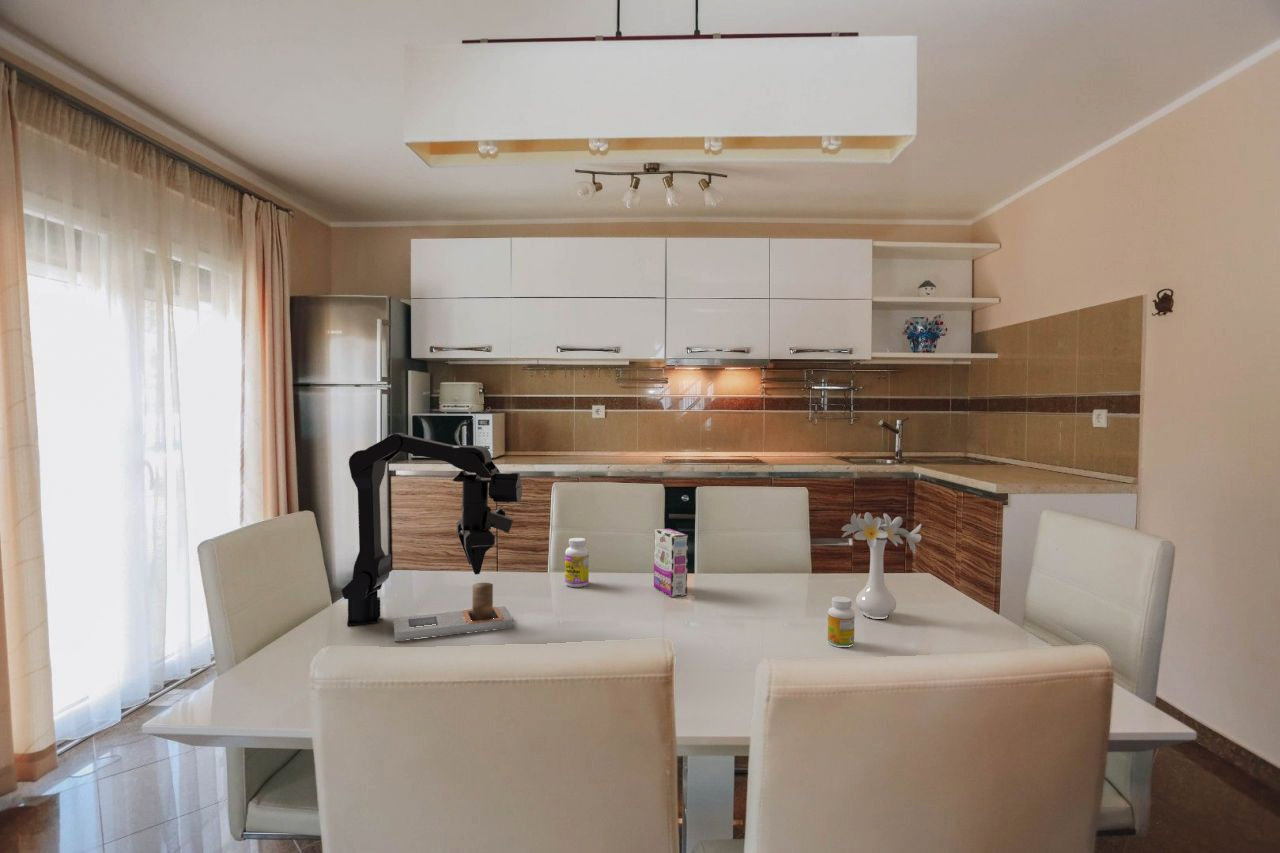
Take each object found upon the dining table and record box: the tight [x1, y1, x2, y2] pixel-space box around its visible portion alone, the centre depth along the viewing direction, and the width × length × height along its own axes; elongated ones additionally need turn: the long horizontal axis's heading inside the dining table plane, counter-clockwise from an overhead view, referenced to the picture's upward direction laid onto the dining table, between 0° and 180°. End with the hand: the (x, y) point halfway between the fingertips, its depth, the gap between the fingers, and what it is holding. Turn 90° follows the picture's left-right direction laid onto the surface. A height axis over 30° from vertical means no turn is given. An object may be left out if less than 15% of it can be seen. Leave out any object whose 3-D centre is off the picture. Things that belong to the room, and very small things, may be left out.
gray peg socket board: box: [393, 605, 514, 642], centre depth 146 cm, size 25×10×2 cm, turn 112°
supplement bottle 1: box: [564, 537, 590, 588], centre depth 181 cm, size 7×7×13 cm
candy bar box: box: [653, 528, 689, 598], centre depth 176 cm, size 11×5×16 cm, turn 25°
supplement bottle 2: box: [827, 596, 855, 646], centre depth 138 cm, size 5×5×10 cm
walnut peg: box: [471, 582, 494, 621], centre depth 148 cm, size 4×4×9 cm
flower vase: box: [841, 511, 923, 617], centre depth 157 cm, size 13×18×25 cm
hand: (474, 569), depth 148 cm, fingers open, 9 cm apart
